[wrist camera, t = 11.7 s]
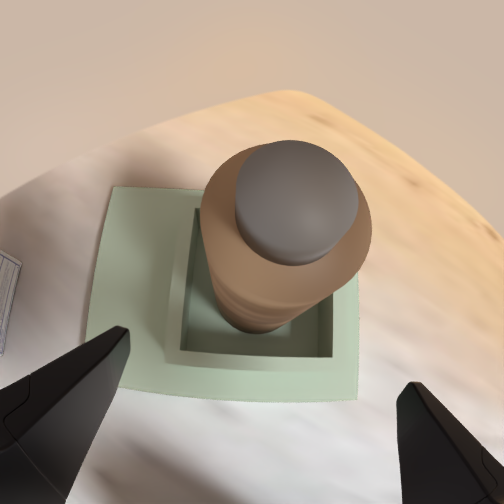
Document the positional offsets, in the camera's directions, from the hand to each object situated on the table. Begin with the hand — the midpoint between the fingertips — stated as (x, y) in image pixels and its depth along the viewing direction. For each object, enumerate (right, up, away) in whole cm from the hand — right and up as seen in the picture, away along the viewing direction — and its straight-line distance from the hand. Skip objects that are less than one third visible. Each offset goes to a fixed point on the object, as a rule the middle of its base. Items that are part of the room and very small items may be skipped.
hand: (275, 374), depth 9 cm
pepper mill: (0, +1, +11) cm, 11 cm away
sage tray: (-2, +1, +12) cm, 13 cm away
